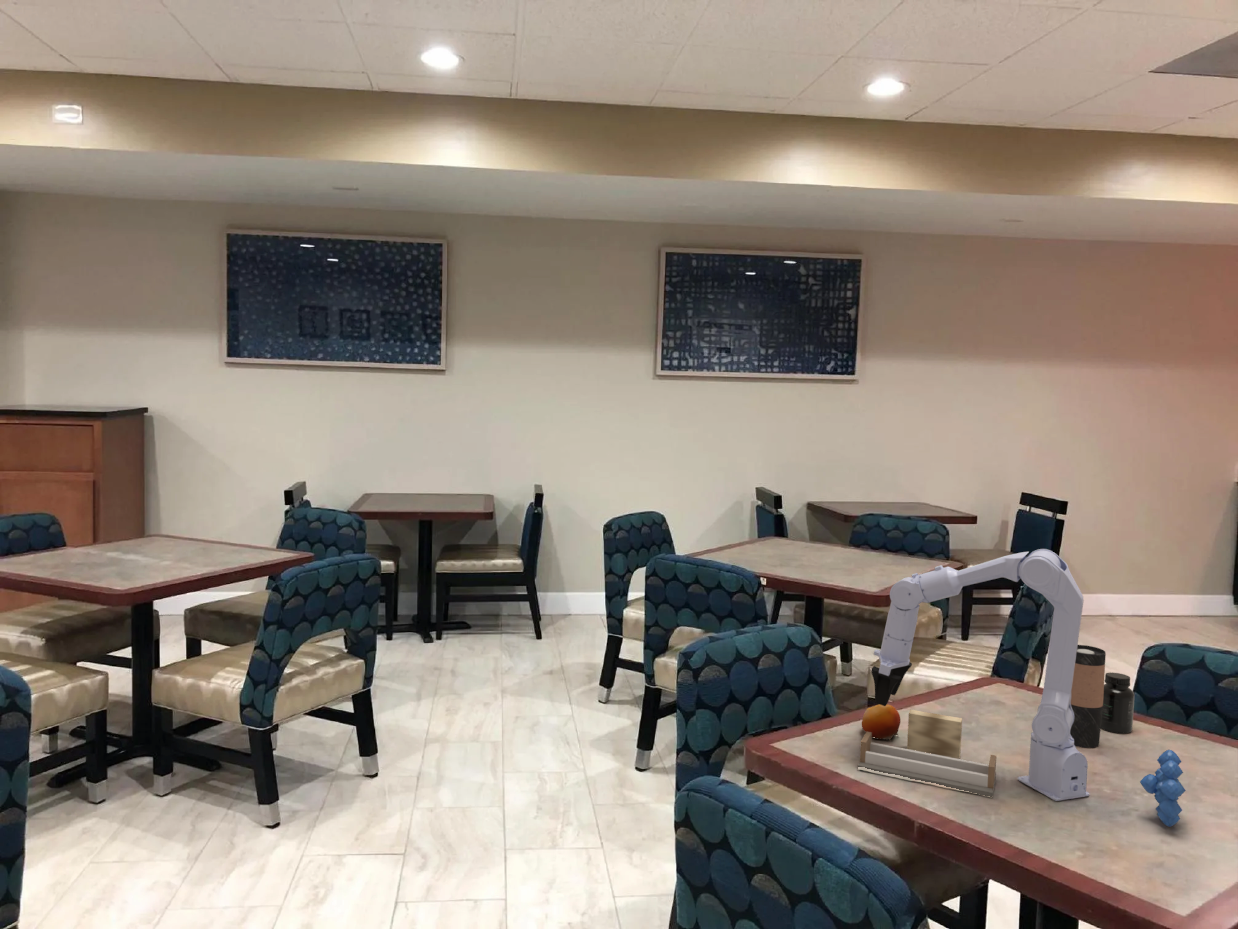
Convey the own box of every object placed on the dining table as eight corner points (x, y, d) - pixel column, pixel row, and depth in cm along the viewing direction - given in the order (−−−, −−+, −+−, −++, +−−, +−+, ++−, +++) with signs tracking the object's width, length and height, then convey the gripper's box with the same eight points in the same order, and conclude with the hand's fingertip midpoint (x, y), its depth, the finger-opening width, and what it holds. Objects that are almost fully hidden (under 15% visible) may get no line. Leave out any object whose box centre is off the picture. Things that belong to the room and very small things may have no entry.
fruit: (901, 742, 179) (883, 704, 181) (868, 752, 184) (851, 716, 186) (914, 730, 186) (896, 695, 188) (882, 741, 190) (865, 706, 192)
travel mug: (1107, 749, 182) (1113, 655, 180) (1070, 748, 182) (1076, 654, 180) (1088, 735, 189) (1094, 644, 188) (1053, 734, 189) (1058, 643, 188)
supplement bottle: (1119, 723, 197) (1123, 671, 196) (1138, 734, 191) (1142, 680, 190) (1090, 722, 197) (1093, 670, 196) (1108, 734, 190) (1111, 680, 189)
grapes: (1135, 801, 158) (1139, 736, 157) (1179, 810, 154) (1184, 744, 154) (1139, 828, 147) (1144, 759, 146) (1187, 838, 144) (1192, 768, 143)
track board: (995, 777, 166) (997, 752, 166) (992, 798, 157) (993, 771, 157) (867, 752, 177) (868, 728, 177) (857, 770, 168) (858, 745, 168)
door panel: (960, 757, 176) (962, 718, 175) (959, 761, 174) (961, 722, 173) (908, 747, 180) (910, 709, 180) (906, 751, 178) (908, 713, 178)
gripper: (887, 622, 185) (875, 682, 187) (869, 637, 172) (856, 702, 174) (921, 632, 181) (908, 693, 183) (905, 649, 169) (891, 714, 171)
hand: (885, 698), depth 178 cm, fingers open, 7 cm apart
